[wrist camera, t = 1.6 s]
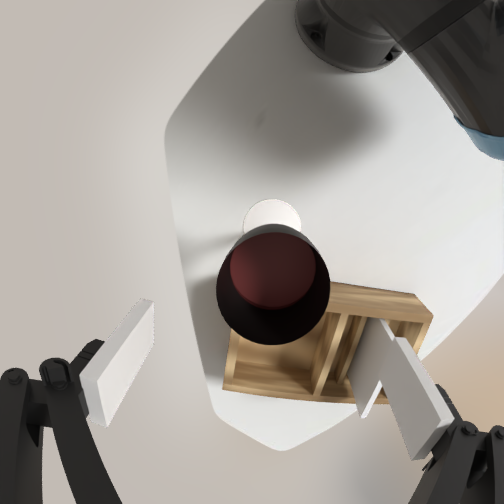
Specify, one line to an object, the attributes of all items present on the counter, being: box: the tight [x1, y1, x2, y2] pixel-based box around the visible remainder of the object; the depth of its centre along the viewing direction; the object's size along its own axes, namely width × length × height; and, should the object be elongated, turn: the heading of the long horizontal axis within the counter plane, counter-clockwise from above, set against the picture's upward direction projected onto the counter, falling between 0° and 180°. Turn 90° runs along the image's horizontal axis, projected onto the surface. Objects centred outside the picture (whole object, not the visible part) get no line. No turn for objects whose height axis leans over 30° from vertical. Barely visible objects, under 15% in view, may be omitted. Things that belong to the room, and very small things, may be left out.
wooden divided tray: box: [222, 281, 434, 404], centre depth 41 cm, size 16×26×7 cm, turn 81°
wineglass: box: [216, 199, 331, 345], centre depth 31 cm, size 8×9×20 cm
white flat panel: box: [347, 317, 395, 418], centre depth 39 cm, size 12×1×11 cm, turn 171°
